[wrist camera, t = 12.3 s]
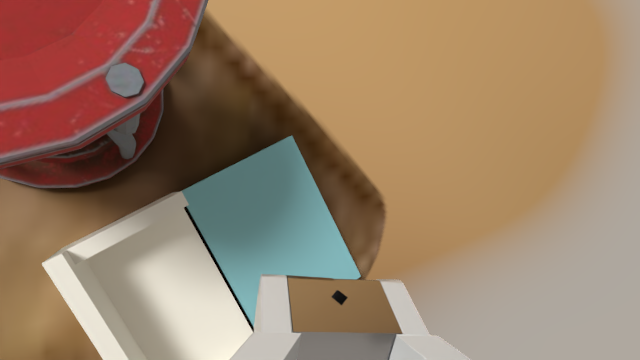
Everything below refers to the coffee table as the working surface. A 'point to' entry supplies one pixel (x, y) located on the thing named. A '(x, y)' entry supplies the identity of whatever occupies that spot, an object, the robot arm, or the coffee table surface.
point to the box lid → (268, 222)
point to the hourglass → (86, 84)
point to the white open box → (150, 288)
